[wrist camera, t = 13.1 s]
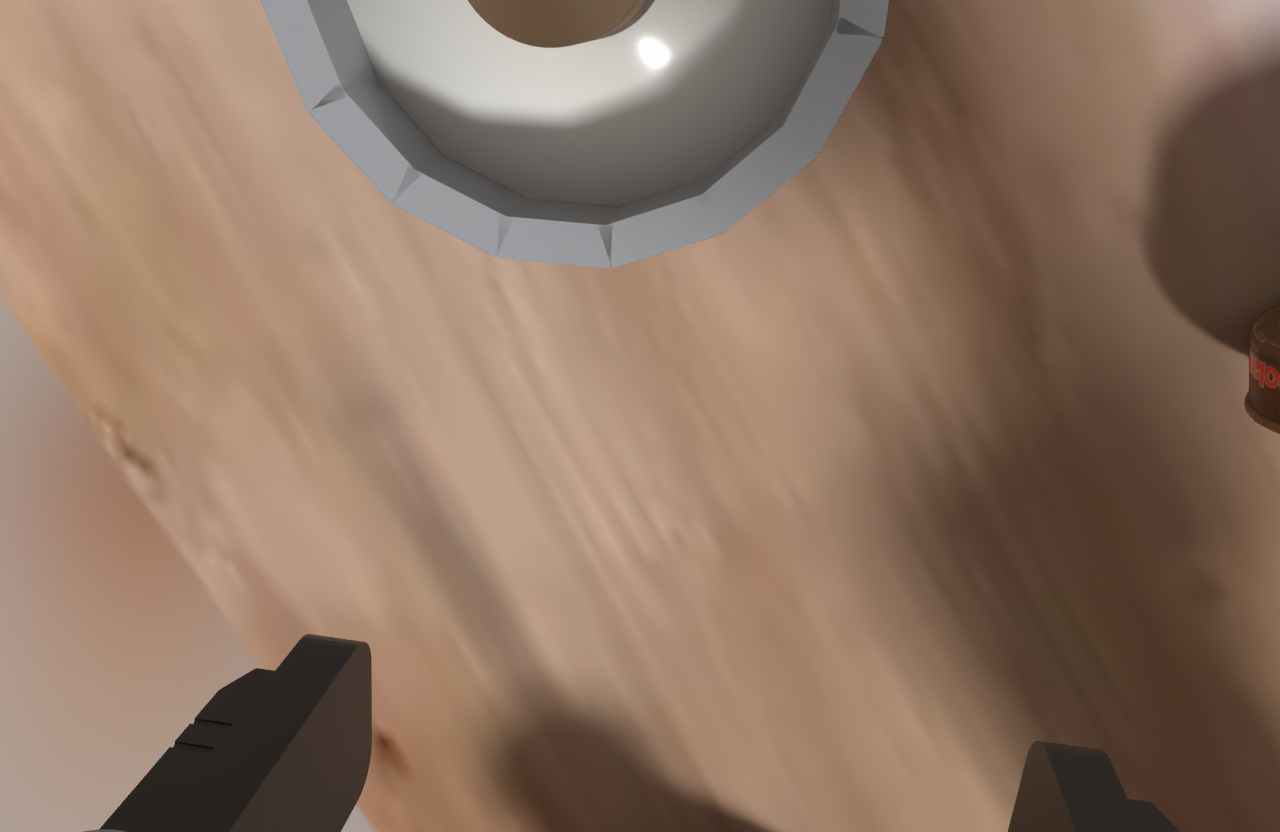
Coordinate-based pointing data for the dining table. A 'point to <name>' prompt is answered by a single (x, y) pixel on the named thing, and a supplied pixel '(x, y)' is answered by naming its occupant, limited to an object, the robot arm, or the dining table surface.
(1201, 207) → the dining table surface
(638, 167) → the round tray
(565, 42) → the walnut bead
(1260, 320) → the tin
